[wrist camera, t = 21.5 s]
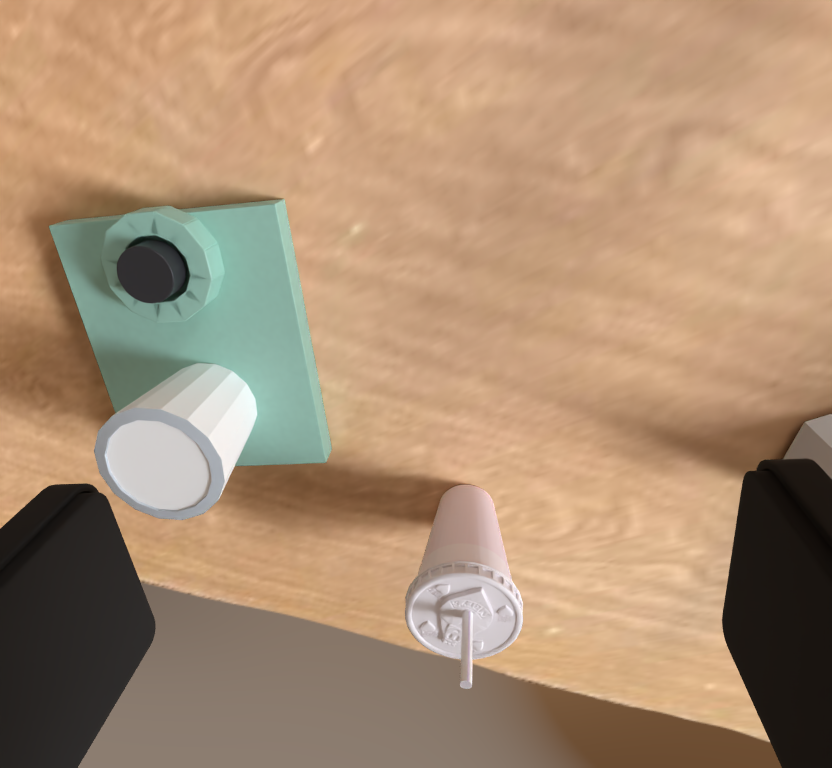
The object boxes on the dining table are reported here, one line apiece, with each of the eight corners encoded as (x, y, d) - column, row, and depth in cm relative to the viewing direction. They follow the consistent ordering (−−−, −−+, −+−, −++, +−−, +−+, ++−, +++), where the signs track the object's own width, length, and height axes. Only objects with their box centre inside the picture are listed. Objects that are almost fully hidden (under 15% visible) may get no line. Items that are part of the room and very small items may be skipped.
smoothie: (530, 488, 40) (555, 672, 27) (489, 556, 42) (494, 752, 30) (440, 453, 39) (423, 624, 26) (405, 524, 42) (374, 710, 29)
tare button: (124, 242, 32) (108, 248, 30) (178, 237, 31) (164, 243, 30) (141, 296, 33) (126, 305, 31) (193, 292, 32) (180, 301, 31)
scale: (64, 211, 34) (22, 223, 31) (283, 190, 33) (262, 200, 30) (148, 456, 41) (121, 486, 38) (332, 448, 40) (319, 479, 37)
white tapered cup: (135, 386, 37) (65, 446, 31) (217, 332, 35) (159, 385, 29) (208, 468, 39) (156, 540, 33) (289, 422, 37) (251, 489, 31)
